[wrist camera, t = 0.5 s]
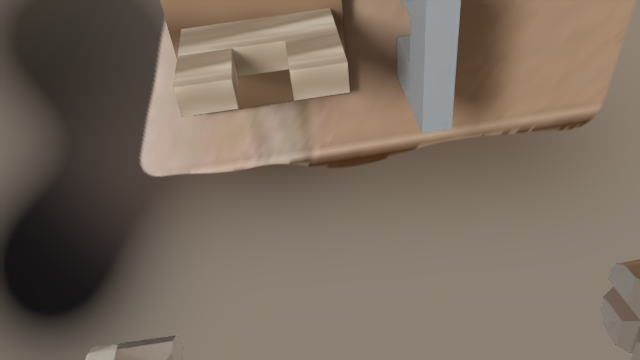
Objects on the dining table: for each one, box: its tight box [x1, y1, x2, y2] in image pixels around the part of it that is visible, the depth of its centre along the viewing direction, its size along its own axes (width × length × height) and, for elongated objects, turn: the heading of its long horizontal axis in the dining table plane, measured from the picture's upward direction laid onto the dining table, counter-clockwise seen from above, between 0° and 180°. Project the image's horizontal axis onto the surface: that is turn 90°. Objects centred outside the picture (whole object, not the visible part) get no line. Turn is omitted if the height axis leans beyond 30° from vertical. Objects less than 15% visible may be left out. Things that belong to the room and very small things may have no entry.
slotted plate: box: [397, 0, 461, 134], centre depth 45 cm, size 12×2×9 cm, turn 5°
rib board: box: [160, 0, 350, 117], centre depth 44 cm, size 14×14×10 cm
